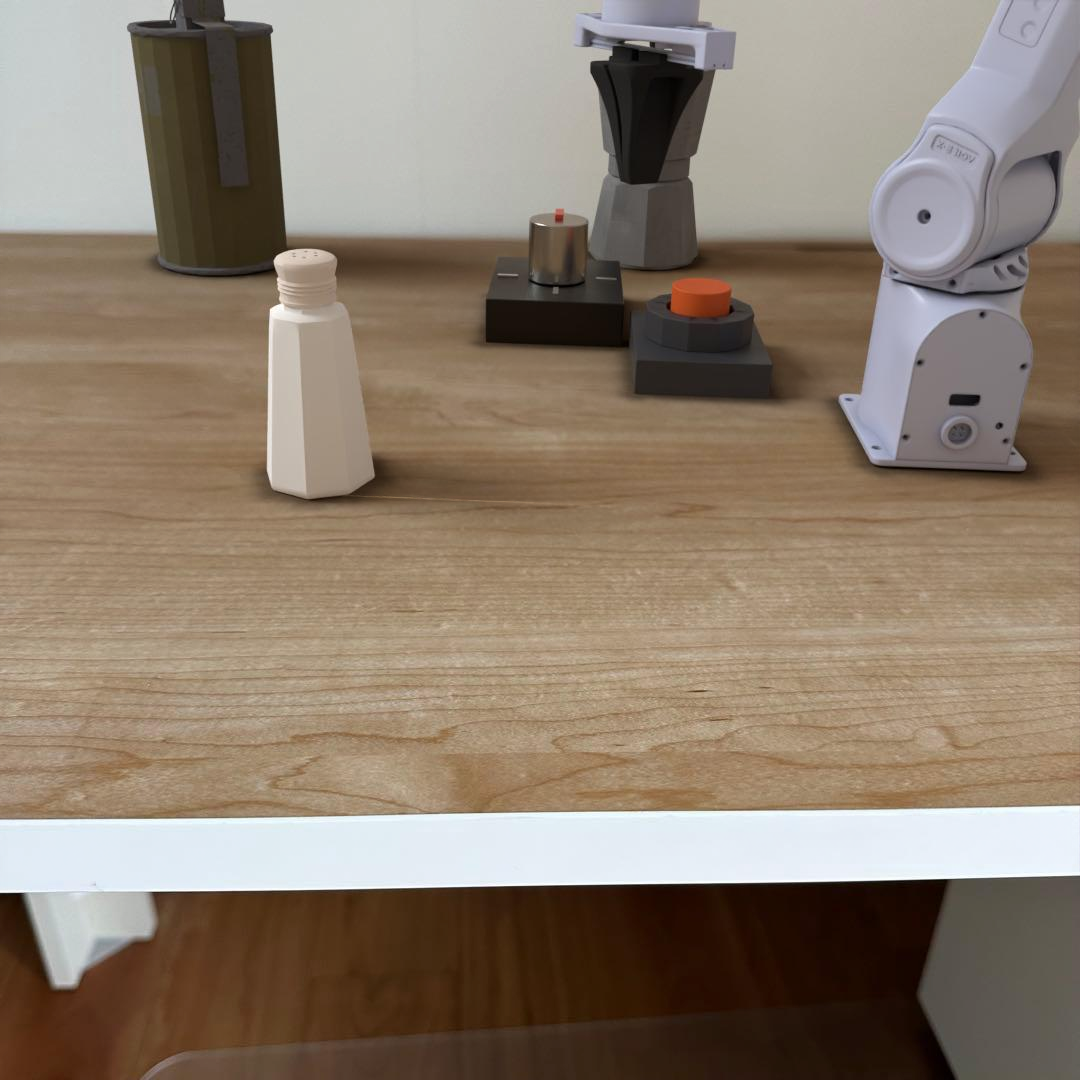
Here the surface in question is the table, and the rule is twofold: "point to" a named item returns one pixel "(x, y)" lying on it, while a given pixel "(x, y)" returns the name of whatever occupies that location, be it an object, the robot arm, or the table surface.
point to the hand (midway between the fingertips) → (638, 182)
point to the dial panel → (555, 307)
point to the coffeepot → (652, 199)
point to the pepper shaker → (314, 384)
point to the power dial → (557, 248)
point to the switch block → (698, 353)
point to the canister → (211, 139)
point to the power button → (701, 297)
